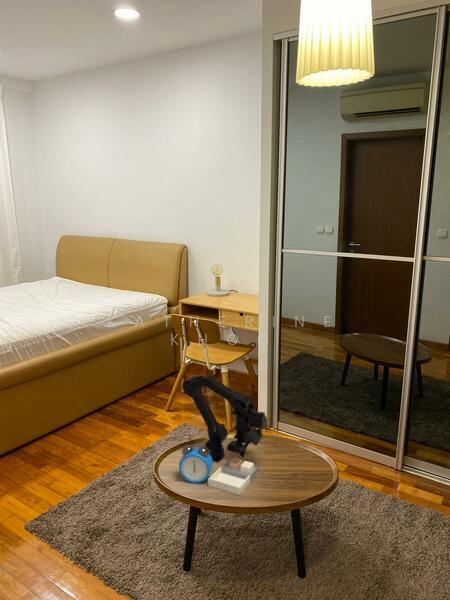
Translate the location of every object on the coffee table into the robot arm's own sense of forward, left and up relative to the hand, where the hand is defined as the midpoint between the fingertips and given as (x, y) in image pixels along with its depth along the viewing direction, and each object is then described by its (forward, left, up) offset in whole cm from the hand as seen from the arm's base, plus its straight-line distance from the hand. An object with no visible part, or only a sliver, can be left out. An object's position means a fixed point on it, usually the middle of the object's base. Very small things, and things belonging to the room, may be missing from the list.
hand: (242, 457), depth 200 cm
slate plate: (+2, -7, -4) cm, 8 cm away
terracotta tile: (0, -7, -1) cm, 7 cm away
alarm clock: (-12, -19, -4) cm, 23 cm away
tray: (+2, -16, -4) cm, 16 cm away
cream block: (+5, -7, -1) cm, 8 cm away
